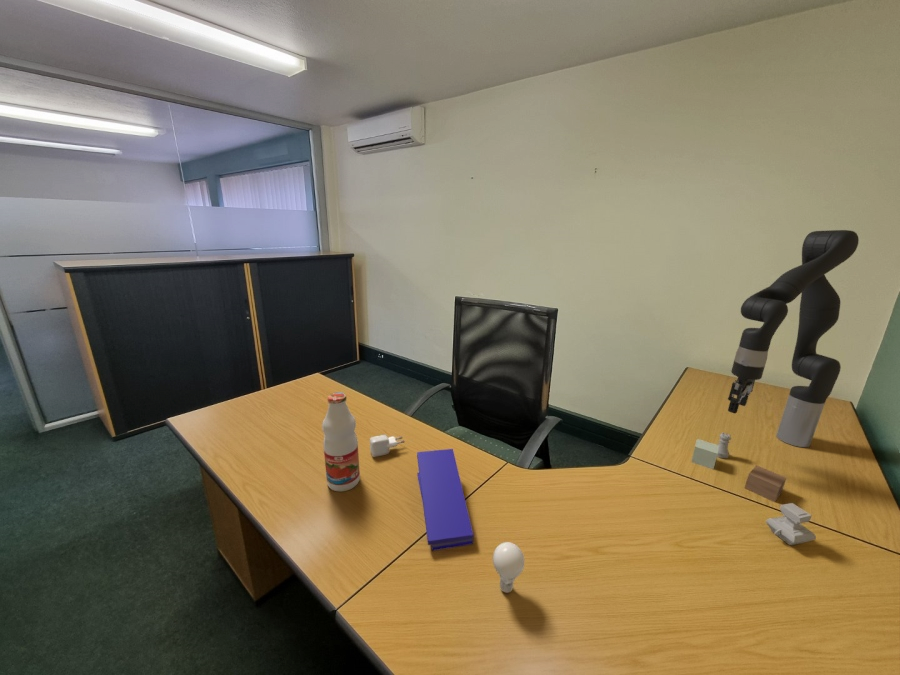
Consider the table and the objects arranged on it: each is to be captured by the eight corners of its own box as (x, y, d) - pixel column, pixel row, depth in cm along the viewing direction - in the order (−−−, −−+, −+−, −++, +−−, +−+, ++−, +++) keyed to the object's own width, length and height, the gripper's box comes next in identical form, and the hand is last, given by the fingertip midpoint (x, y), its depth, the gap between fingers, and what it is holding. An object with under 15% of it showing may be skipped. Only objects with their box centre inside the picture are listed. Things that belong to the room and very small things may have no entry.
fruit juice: (362, 471, 111) (357, 388, 103) (356, 492, 102) (350, 403, 94) (332, 471, 111) (324, 388, 103) (323, 492, 102) (313, 404, 94)
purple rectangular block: (450, 472, 112) (451, 444, 109) (475, 546, 86) (477, 513, 83) (414, 476, 109) (413, 449, 107) (428, 554, 83) (428, 520, 80)
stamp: (786, 551, 85) (797, 523, 83) (759, 529, 91) (768, 502, 89) (816, 546, 87) (827, 518, 84) (787, 525, 93) (796, 498, 91)
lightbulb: (488, 576, 78) (490, 535, 75) (517, 574, 78) (520, 534, 75) (494, 605, 72) (497, 562, 69) (525, 602, 72) (529, 560, 69)
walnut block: (752, 479, 110) (756, 465, 109) (781, 492, 105) (786, 477, 104) (744, 487, 106) (748, 473, 105) (774, 502, 101) (779, 487, 100)
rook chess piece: (731, 459, 120) (737, 439, 117) (716, 458, 120) (721, 437, 118) (724, 452, 124) (729, 431, 122) (709, 450, 125) (715, 430, 122)
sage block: (693, 453, 123) (697, 438, 121) (714, 460, 119) (718, 445, 117) (691, 462, 118) (695, 446, 116) (713, 469, 115) (717, 453, 113)
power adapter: (401, 444, 125) (401, 429, 124) (405, 451, 121) (405, 436, 119) (369, 451, 121) (369, 435, 119) (372, 459, 117) (371, 443, 115)
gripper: (742, 354, 118) (730, 398, 123) (726, 362, 110) (714, 410, 115) (771, 360, 112) (758, 407, 117) (757, 370, 104) (743, 419, 109)
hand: (736, 408), depth 116 cm, fingers open, 8 cm apart
